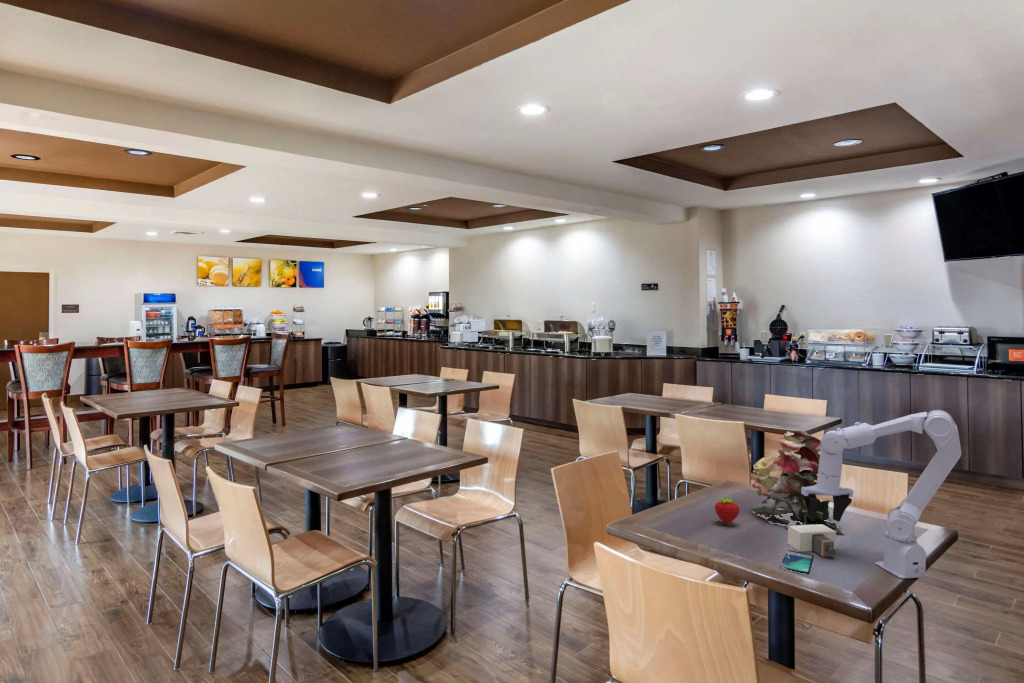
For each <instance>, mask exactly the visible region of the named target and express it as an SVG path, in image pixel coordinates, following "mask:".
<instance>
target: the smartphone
mask: <svg viewBox="0 0 1024 683" xmlns="http://www.w3.org/2000/svg"><path fill="white" fill-rule="evenodd" d="M787 550H788V552H789V553H790V555H789V557H790V559H789V558H788V557H786V556H788V554H786V553H785V554H786V556H785V555H784V556H785V557H784V556H783V558H784V559H782V561H783V562H781V563H783V566H781V565H780V566H781V567H784V568H786V569H788V570H792V571H797V572H800V573H806V574H809V575H810V572H811V569H810V568H812V564H813V561H814V559H815V558H814V557H815V556H814V554H810V553H808V552H799V551H797V550H792V549H787ZM800 573H799V574H800Z"/></svg>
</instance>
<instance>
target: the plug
mask: <svg viewBox="0 0 1024 683" xmlns="http://www.w3.org/2000/svg"><path fill="white" fill-rule="evenodd" d="M812 551H814V552H815V553H817V554H819V555H820V556H821V557H824V558H825V557H826V558H827V557H834V554H835V553H836V548H835V549H834V541H833V540H830V539H829V538H827V537H825V536H823V535H822V534H815V535H812Z"/></svg>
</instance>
